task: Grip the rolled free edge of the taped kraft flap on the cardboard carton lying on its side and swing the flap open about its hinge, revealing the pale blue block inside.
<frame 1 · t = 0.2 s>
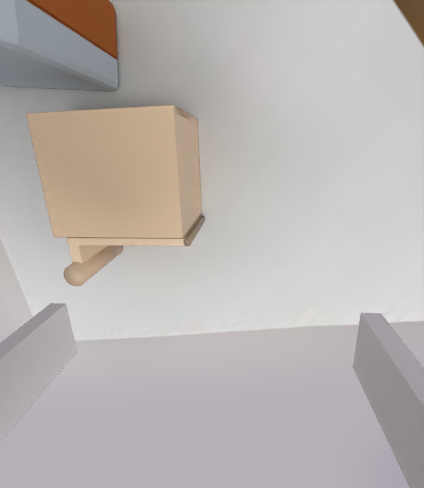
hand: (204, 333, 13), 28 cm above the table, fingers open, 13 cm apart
flap: (141, 248, 36), point 6 cm above the table, hinge at 0.0°
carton: (149, 169, 38), on the table
grey rounded slab: (52, 50, 35), on the table
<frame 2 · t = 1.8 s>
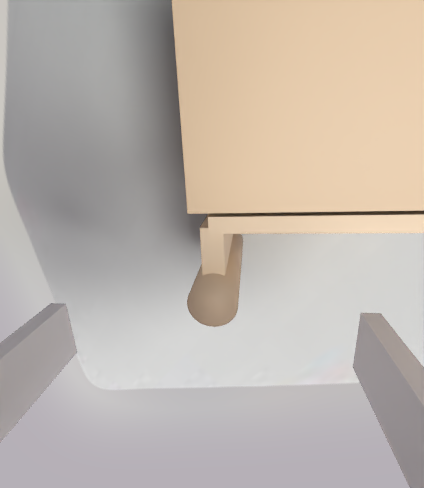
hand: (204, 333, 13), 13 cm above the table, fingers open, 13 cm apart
flap: (320, 242, 18), point 6 cm above the table, hinge at 0.0°
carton: (312, 91, 20), on the table
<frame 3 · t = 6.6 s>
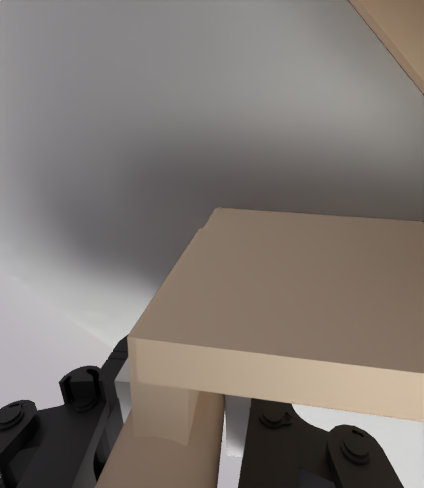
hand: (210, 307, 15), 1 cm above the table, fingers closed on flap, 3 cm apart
flap: (388, 340, 9), point 6 cm above the table, hinge at 41.9°, touching gripper
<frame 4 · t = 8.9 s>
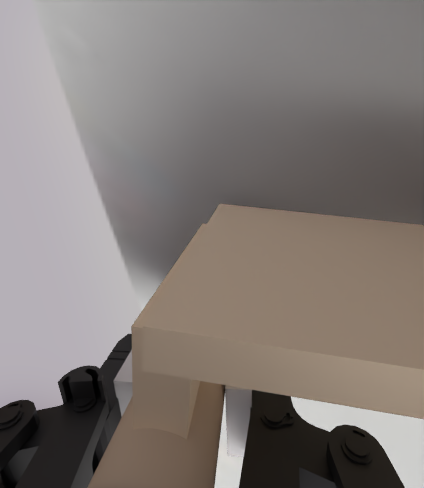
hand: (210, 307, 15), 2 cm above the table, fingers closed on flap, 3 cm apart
flap: (388, 342, 9), point 6 cm above the table, hinge at 79.5°, touching gripper
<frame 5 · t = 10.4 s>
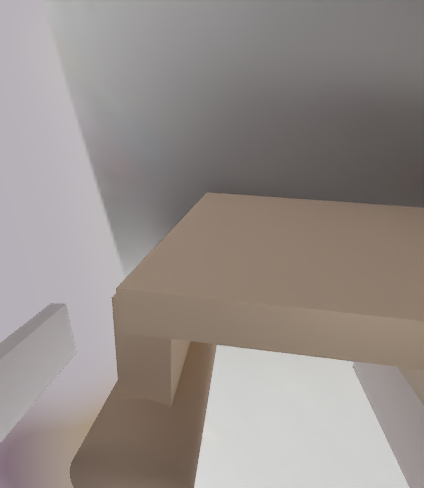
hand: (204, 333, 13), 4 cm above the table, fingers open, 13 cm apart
flap: (369, 316, 9), point 6 cm above the table, hinge at 84.6°
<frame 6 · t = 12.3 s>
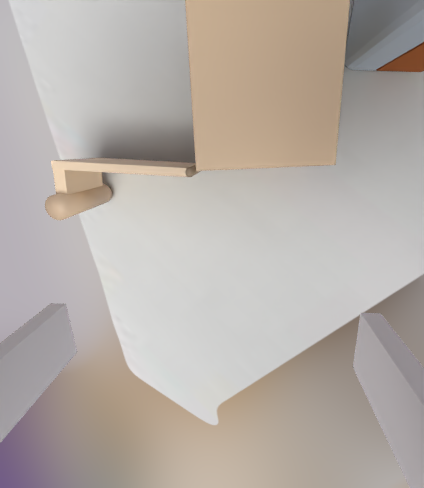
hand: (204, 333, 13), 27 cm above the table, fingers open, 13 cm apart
flap: (134, 188, 32), point 6 cm above the table, hinge at 84.6°
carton: (256, 101, 34), on the table
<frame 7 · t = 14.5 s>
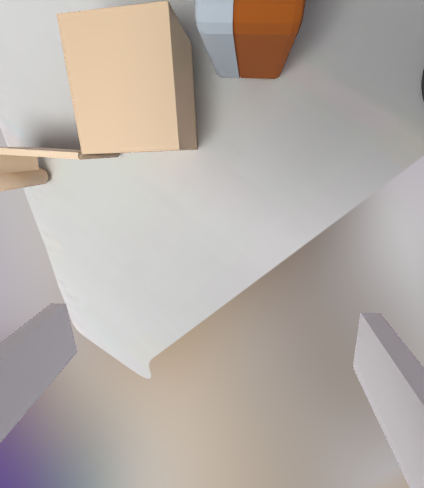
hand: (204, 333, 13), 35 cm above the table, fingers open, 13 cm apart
flap: (55, 170, 41), point 6 cm above the table, hinge at 84.6°
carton: (155, 102, 42), on the table
grey rounded slab: (254, 0, 37), on the table
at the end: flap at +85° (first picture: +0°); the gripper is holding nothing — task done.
